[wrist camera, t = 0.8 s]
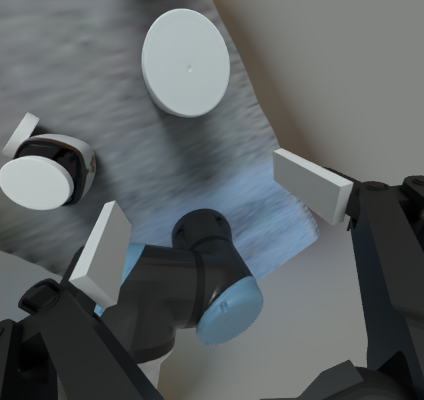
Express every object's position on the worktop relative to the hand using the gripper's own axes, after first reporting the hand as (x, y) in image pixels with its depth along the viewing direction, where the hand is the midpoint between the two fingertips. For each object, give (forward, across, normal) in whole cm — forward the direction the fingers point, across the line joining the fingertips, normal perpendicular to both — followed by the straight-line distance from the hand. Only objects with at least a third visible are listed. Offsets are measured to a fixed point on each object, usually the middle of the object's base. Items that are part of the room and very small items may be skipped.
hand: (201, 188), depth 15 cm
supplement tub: (+25, -2, -7) cm, 26 cm away
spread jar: (+23, +20, -2) cm, 31 cm away
